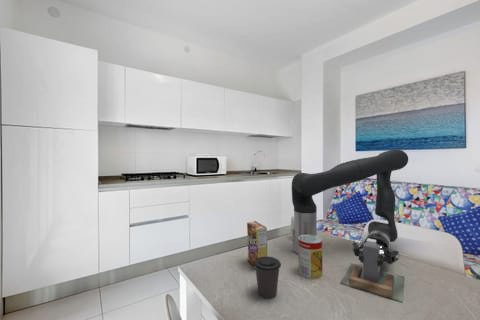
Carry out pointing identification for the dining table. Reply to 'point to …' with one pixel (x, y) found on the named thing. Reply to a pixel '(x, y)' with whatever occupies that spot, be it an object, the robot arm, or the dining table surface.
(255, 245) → the candy box
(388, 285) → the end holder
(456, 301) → the dining table surface
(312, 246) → the canned food
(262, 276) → the coffee cup
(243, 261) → the dining table surface
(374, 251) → the connector plug
